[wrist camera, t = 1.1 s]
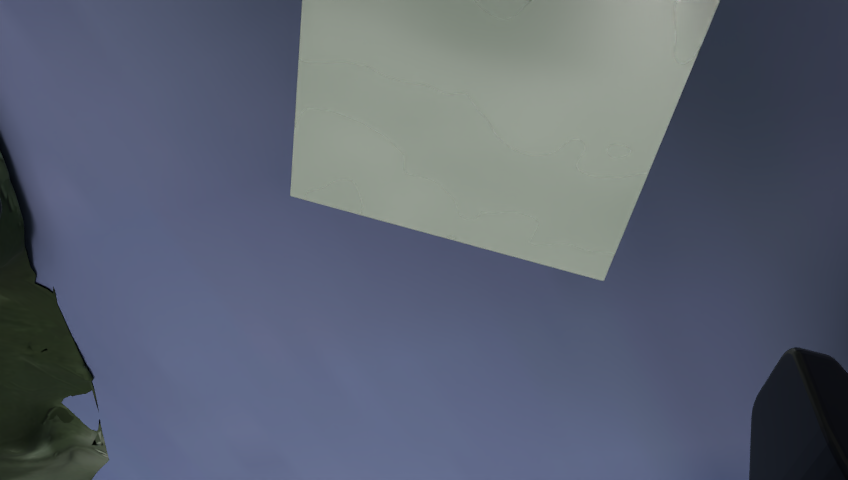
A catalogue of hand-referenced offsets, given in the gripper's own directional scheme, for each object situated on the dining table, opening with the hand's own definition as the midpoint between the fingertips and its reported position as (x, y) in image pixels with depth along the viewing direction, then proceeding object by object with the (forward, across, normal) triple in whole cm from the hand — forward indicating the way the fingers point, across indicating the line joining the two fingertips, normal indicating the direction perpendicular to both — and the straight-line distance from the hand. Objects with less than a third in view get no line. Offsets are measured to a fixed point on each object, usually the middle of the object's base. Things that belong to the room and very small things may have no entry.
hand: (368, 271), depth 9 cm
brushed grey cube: (+11, -1, 0) cm, 11 cm away
